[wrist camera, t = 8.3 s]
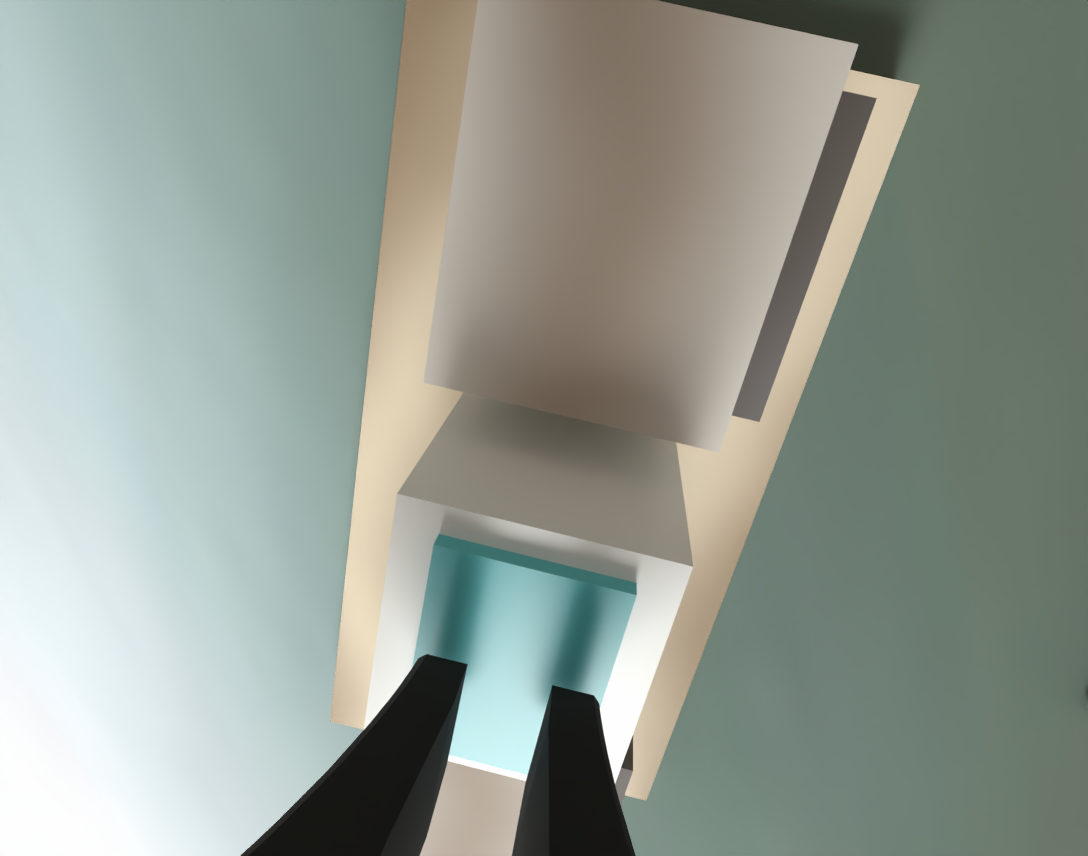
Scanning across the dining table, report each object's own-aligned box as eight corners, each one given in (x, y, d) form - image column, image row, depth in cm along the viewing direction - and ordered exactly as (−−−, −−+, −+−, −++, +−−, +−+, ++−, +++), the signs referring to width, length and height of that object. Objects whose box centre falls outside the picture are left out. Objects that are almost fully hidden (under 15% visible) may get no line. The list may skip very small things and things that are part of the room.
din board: (892, 89, 15) (1062, 60, 9) (645, 760, 23) (649, 974, 17) (430, -13, 15) (301, -106, 9) (348, 685, 23) (252, 871, 17)
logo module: (672, 413, 15) (694, 578, 10) (616, 592, 18) (607, 818, 12) (480, 367, 16) (390, 503, 10) (447, 550, 18) (355, 753, 12)
